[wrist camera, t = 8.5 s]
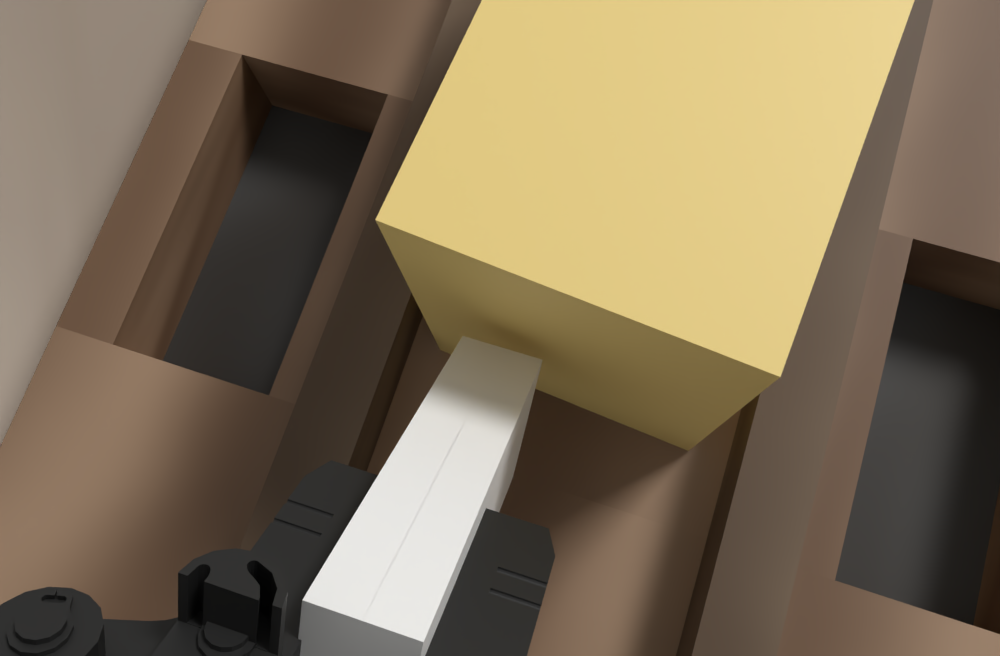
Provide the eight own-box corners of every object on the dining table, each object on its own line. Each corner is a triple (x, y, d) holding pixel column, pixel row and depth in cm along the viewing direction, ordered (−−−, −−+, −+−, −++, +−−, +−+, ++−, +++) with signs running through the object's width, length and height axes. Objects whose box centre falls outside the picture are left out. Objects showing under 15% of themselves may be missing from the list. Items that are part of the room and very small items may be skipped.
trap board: (1151, -48, 26) (1284, -184, 21) (924, 1246, 18) (1054, 1480, 14) (371, -224, 29) (337, -377, 24) (-92, 822, 21) (-270, 894, 17)
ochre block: (829, 72, 22) (985, -199, 14) (688, 450, 20) (780, 376, 12) (599, -5, 23) (627, -300, 15) (440, 349, 20) (375, 220, 13)
